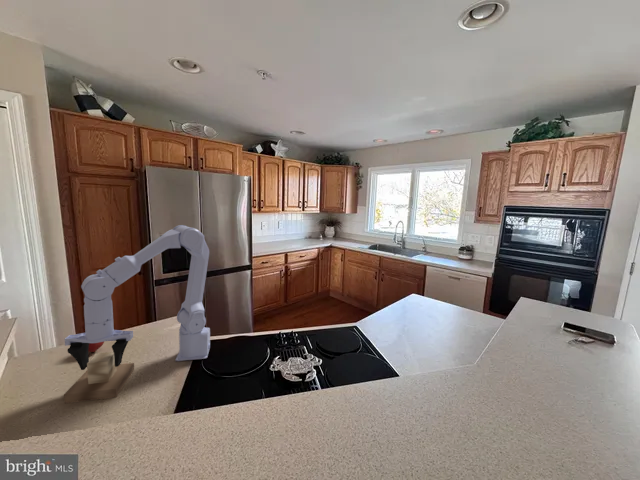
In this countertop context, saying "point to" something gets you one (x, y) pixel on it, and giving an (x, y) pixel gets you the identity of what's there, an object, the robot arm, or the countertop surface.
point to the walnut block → (99, 386)
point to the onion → (94, 346)
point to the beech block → (101, 368)
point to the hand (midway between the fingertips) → (101, 366)
